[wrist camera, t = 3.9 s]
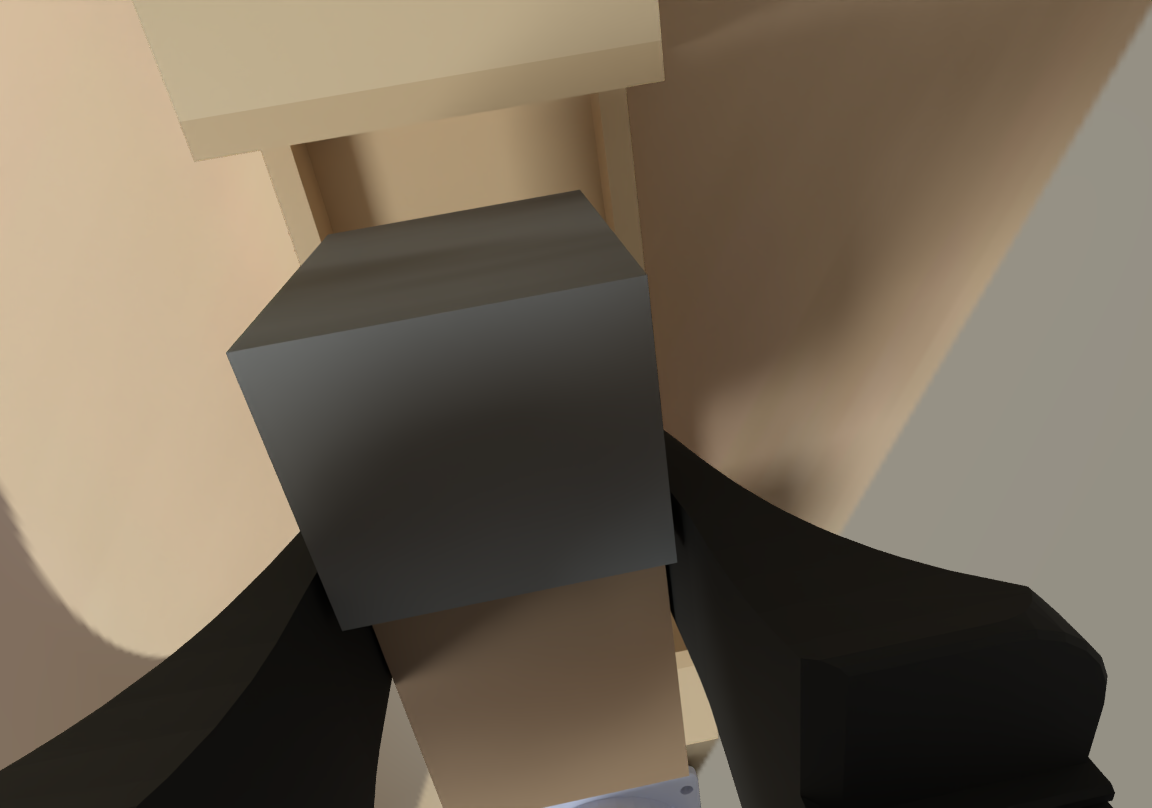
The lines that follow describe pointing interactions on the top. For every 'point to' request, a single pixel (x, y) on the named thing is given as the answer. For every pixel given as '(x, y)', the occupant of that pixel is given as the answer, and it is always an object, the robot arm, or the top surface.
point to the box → (487, 488)
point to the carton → (420, 117)
